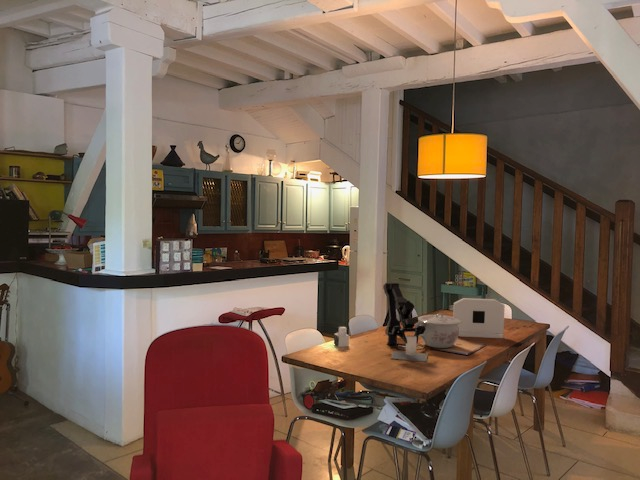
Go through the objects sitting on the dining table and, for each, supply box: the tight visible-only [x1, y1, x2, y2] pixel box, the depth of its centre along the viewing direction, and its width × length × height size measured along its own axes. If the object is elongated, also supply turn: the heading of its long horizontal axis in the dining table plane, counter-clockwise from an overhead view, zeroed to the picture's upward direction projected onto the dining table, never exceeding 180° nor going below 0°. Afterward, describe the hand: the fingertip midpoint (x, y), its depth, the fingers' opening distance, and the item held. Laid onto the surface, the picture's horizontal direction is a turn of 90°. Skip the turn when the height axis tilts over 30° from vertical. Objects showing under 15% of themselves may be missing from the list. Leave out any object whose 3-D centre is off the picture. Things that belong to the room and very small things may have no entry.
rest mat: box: [390, 350, 429, 363], centre depth 304 cm, size 16×20×1 cm
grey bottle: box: [333, 325, 350, 348], centre depth 326 cm, size 7×7×12 cm
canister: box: [405, 335, 418, 355], centre depth 300 cm, size 6×6×10 cm
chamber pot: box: [414, 312, 462, 349], centre depth 331 cm, size 28×28×21 cm
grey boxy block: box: [452, 297, 506, 339], centre depth 367 cm, size 33×24×26 cm
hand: (411, 343), depth 298 cm, fingers closed on canister, 6 cm apart
